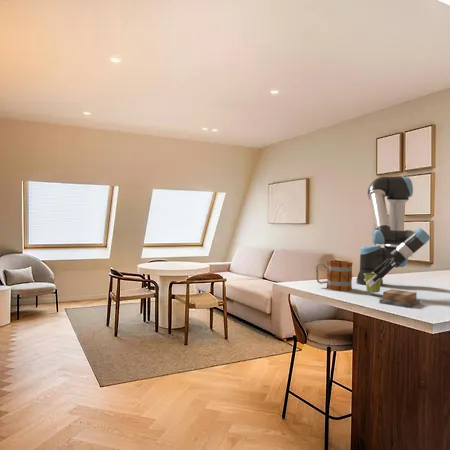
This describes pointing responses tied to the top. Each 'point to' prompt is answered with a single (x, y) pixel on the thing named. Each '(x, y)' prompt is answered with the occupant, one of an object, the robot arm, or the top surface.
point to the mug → (337, 275)
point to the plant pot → (375, 286)
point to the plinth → (399, 298)
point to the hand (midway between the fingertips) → (366, 283)
